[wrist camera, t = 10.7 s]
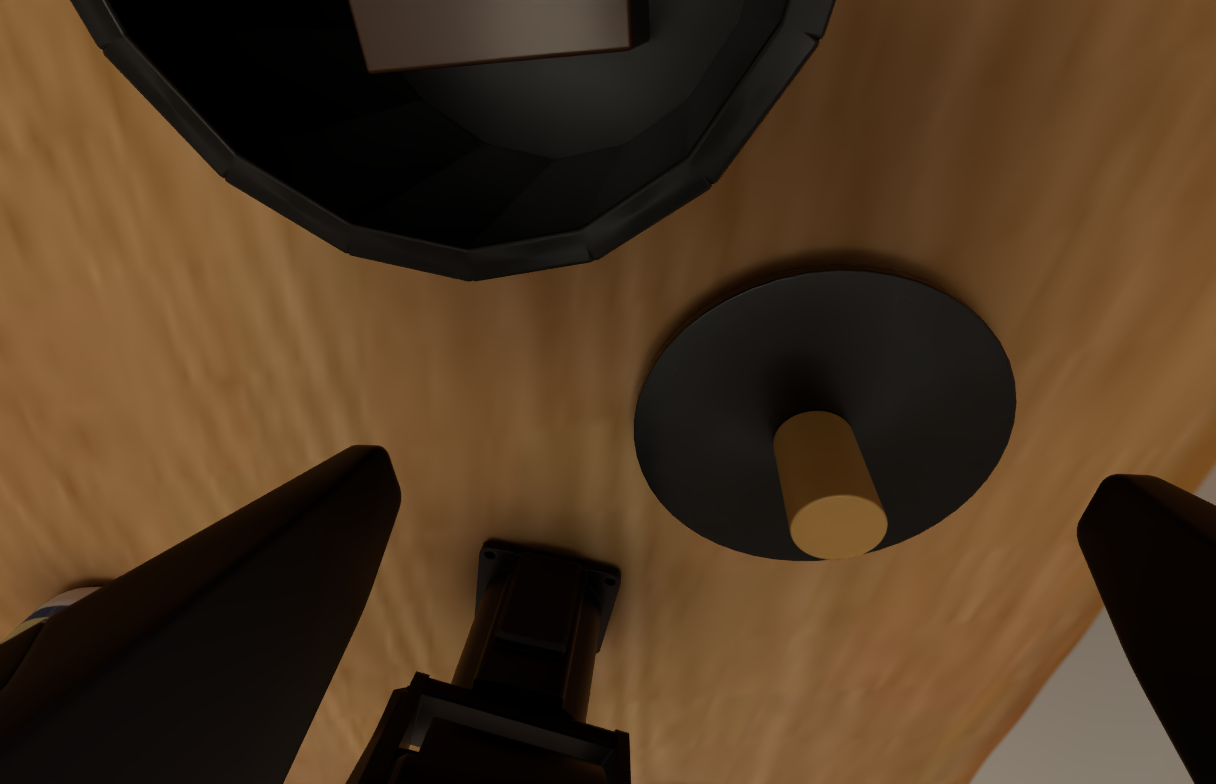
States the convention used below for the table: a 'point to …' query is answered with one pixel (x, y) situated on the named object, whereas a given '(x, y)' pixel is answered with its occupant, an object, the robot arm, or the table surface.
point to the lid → (824, 413)
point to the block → (492, 31)
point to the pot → (460, 124)
